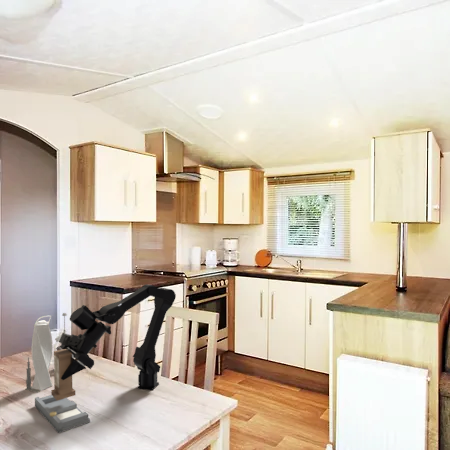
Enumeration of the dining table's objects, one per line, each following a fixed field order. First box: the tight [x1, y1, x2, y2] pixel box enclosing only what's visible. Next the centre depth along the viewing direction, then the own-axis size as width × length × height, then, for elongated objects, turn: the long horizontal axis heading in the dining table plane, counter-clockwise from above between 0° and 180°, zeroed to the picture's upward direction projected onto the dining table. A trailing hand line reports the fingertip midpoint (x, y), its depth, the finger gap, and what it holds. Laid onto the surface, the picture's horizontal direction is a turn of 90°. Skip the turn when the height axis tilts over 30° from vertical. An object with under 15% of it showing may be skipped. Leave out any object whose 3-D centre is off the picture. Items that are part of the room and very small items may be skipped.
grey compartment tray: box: [34, 394, 91, 434], centre depth 133 cm, size 24×10×4 cm, turn 41°
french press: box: [52, 312, 75, 373], centre depth 176 cm, size 10×12×25 cm
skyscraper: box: [25, 314, 54, 394], centre depth 155 cm, size 8×8×28 cm
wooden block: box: [50, 349, 76, 400], centre depth 133 cm, size 6×6×14 cm
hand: (58, 376), depth 132 cm, fingers closed on wooden block, 6 cm apart
